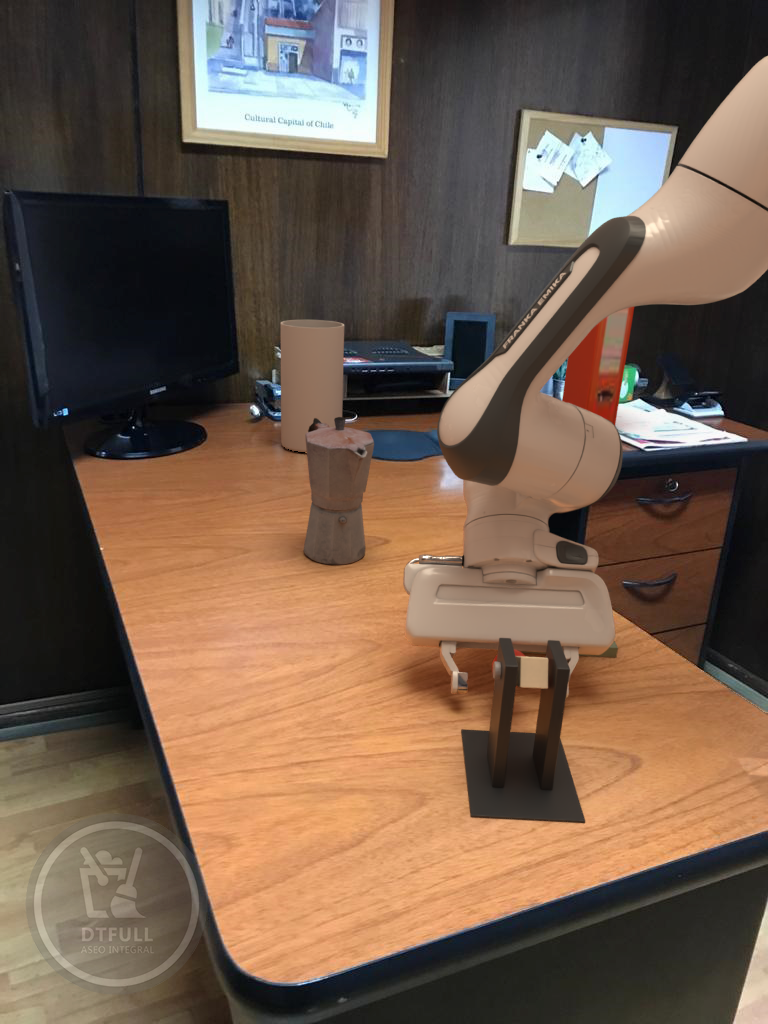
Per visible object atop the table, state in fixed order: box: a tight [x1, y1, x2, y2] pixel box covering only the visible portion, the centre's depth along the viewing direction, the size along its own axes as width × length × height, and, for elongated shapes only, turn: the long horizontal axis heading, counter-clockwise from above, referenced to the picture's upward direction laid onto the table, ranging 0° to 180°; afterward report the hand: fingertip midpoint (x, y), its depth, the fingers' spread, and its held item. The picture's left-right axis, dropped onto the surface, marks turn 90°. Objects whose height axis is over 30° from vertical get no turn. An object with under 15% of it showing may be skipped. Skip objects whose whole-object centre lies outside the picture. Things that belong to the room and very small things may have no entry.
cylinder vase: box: [280, 319, 345, 453], centre depth 156 cm, size 12×12×25 cm
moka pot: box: [303, 416, 375, 566], centre depth 107 cm, size 10×15×20 cm, turn 36°
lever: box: [491, 649, 548, 690], centre depth 67 cm, size 13×4×4 cm
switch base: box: [460, 638, 586, 824], centre depth 64 cm, size 11×9×13 cm
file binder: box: [561, 306, 635, 426], centre depth 184 cm, size 8×17×32 cm, turn 5°
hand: (509, 695), depth 73 cm, fingers open, 8 cm apart
